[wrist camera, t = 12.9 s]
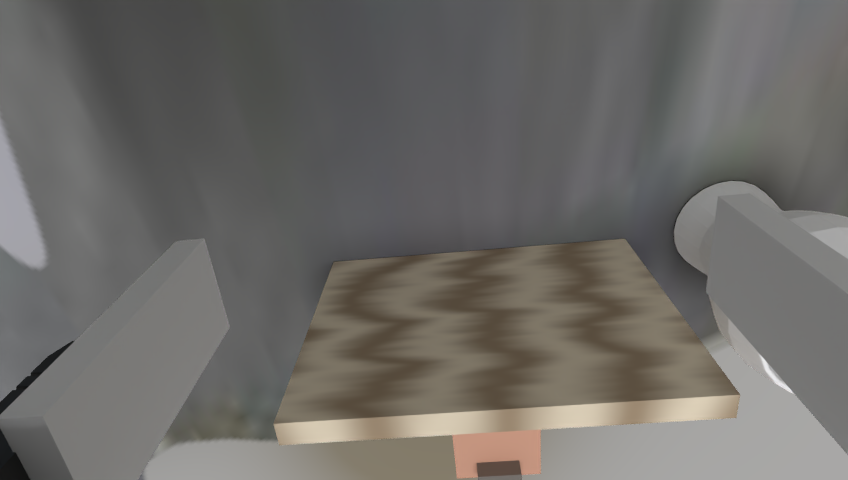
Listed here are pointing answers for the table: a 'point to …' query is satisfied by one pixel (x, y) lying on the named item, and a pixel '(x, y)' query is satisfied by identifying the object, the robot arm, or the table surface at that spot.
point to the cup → (697, 241)
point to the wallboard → (497, 347)
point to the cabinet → (498, 454)
